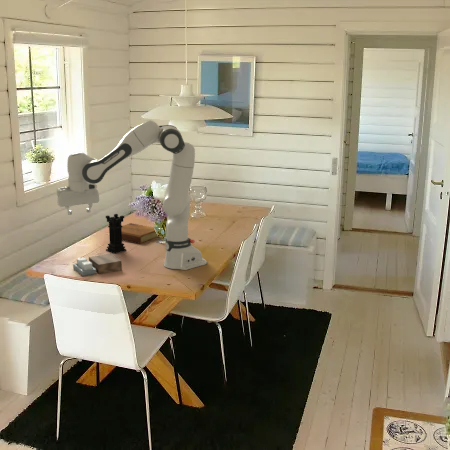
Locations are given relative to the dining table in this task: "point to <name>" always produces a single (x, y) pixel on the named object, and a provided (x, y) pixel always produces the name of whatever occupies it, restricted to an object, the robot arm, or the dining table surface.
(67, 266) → the dining table surface
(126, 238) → the diary
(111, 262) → the square brown board
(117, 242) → the chess piece
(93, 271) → the tray
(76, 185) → the robot arm
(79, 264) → the white block
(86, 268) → the off-white small block
